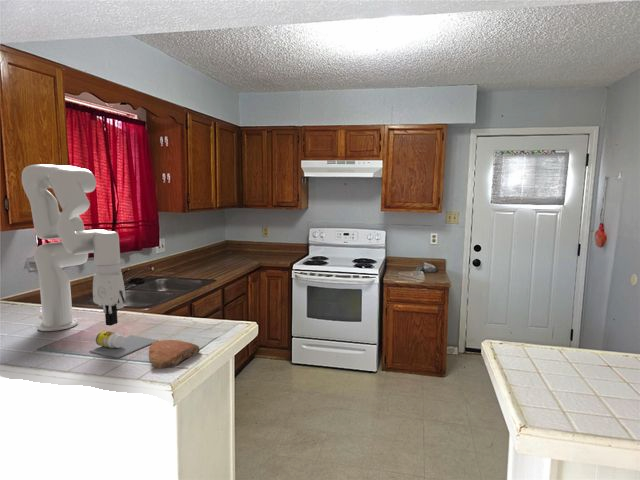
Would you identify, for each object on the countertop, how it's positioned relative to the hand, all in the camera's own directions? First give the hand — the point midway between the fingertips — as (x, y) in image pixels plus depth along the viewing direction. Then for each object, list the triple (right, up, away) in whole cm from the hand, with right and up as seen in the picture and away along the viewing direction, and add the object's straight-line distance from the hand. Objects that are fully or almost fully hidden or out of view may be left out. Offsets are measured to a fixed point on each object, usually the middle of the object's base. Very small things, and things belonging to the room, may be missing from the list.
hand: (111, 324), depth 137 cm
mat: (+5, -7, -2) cm, 9 cm away
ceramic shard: (+22, -9, -12) cm, 26 cm away
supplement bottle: (-3, -4, -1) cm, 5 cm away
